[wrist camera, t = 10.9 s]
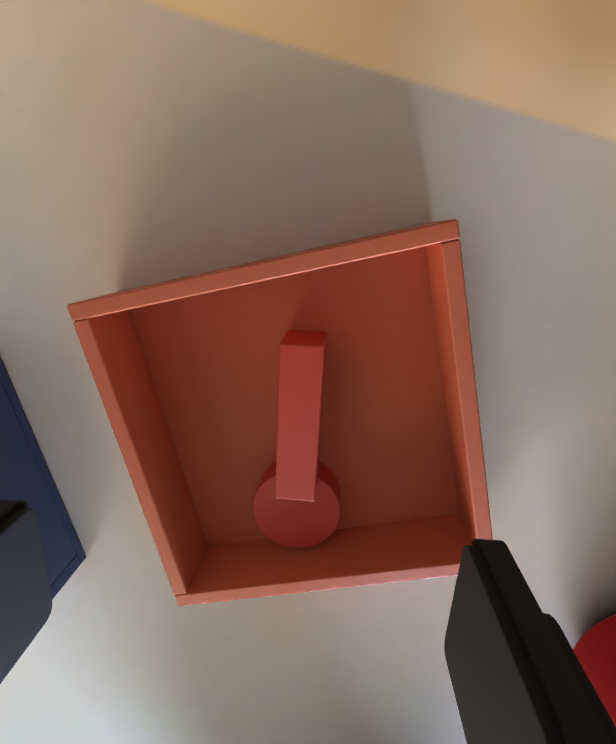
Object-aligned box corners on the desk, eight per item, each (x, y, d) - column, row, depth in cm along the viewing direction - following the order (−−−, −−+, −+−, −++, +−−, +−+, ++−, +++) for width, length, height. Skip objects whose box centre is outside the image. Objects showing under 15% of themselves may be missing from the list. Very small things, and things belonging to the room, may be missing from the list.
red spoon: (260, 327, 18) (248, 341, 15) (354, 333, 17) (355, 348, 15) (257, 523, 21) (246, 559, 18) (337, 531, 20) (337, 568, 18)
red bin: (116, 291, 18) (65, 305, 15) (435, 221, 16) (458, 218, 13) (203, 550, 22) (178, 606, 19) (471, 515, 20) (496, 571, 17)
